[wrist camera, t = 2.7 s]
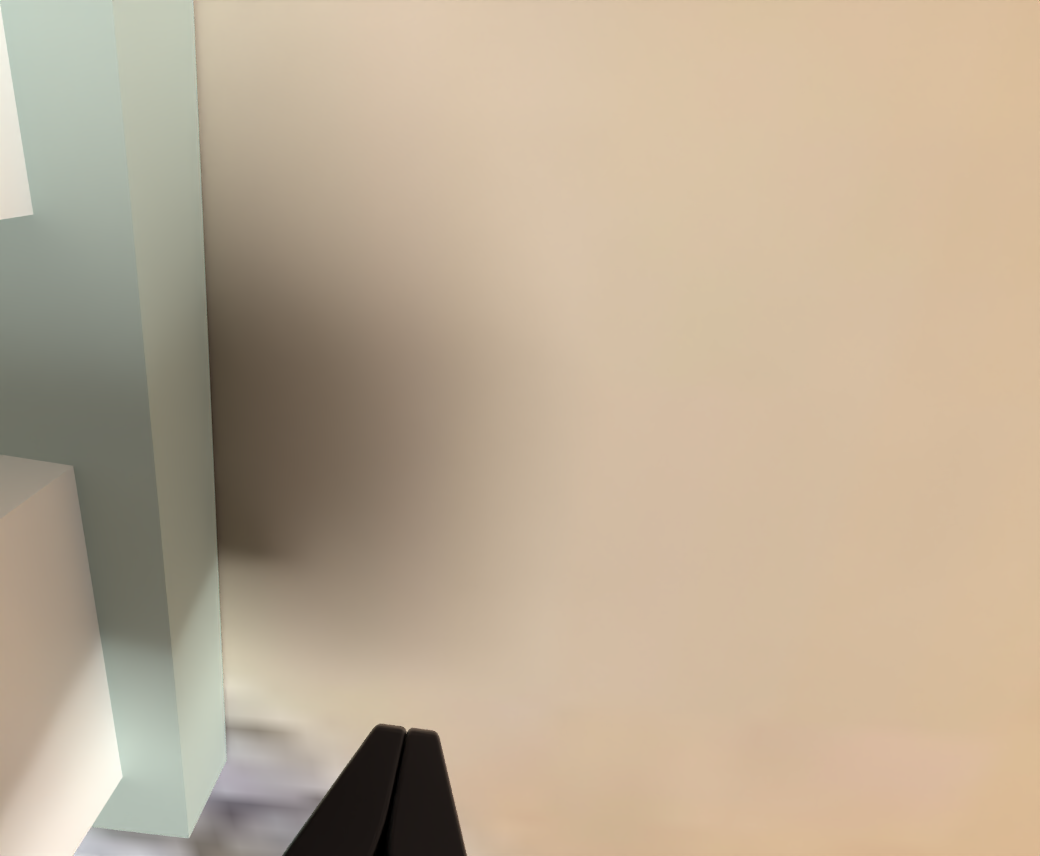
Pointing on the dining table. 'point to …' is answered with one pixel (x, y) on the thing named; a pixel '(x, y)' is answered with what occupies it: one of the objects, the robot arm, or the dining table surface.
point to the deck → (122, 368)
